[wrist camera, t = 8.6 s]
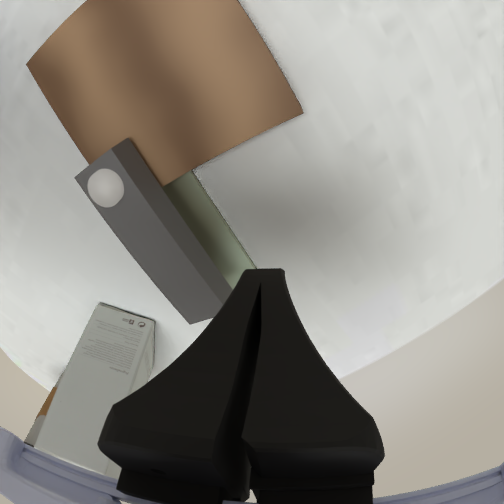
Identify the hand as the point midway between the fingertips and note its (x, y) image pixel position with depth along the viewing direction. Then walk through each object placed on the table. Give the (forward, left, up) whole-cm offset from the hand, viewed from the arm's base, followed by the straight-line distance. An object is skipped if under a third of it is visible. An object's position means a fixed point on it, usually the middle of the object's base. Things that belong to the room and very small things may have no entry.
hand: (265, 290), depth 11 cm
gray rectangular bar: (-6, +1, -7) cm, 10 cm away
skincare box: (-19, -7, -10) cm, 23 cm away
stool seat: (-3, +5, -9) cm, 11 cm away
